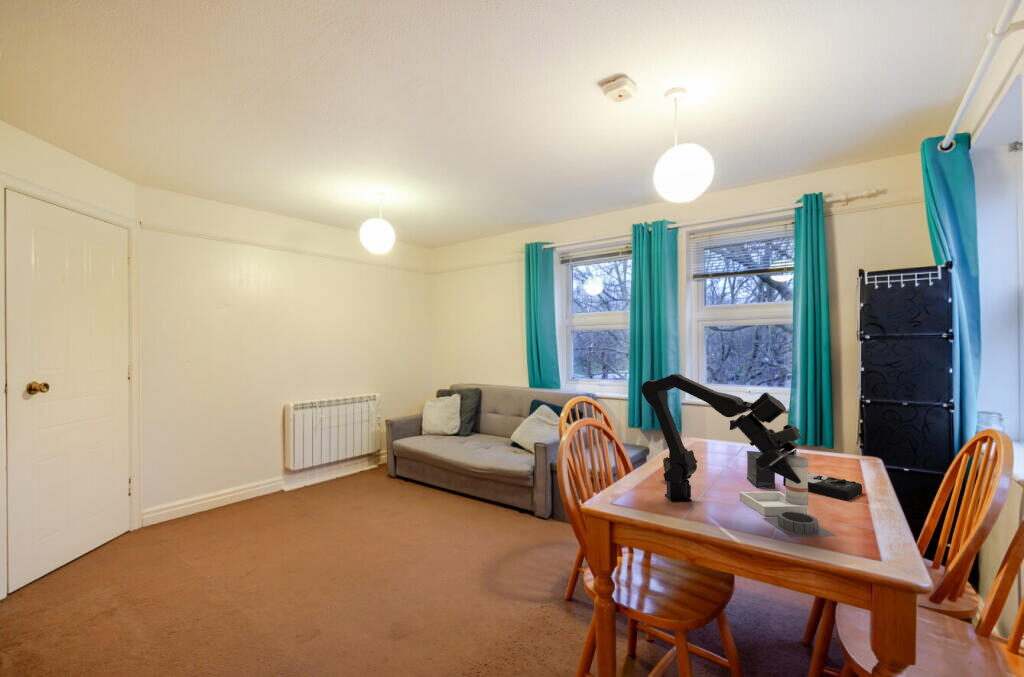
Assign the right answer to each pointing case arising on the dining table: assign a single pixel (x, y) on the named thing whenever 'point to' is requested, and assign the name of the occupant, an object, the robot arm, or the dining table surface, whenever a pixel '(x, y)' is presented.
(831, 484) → the multimeter
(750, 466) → the small box
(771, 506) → the tray
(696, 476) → the dining table surface
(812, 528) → the fuse holder
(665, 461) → the cup
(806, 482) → the cylinder
